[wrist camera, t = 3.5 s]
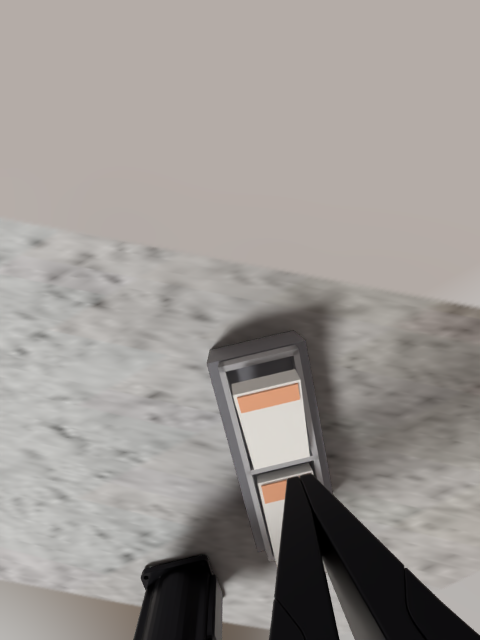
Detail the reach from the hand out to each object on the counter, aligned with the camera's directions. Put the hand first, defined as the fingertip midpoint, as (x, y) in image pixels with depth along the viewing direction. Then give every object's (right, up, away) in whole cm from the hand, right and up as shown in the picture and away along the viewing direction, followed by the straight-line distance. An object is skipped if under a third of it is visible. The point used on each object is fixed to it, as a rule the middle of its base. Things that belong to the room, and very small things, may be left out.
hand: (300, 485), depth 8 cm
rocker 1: (0, -1, +8) cm, 8 cm away
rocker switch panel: (+1, -4, +13) cm, 14 cm away
